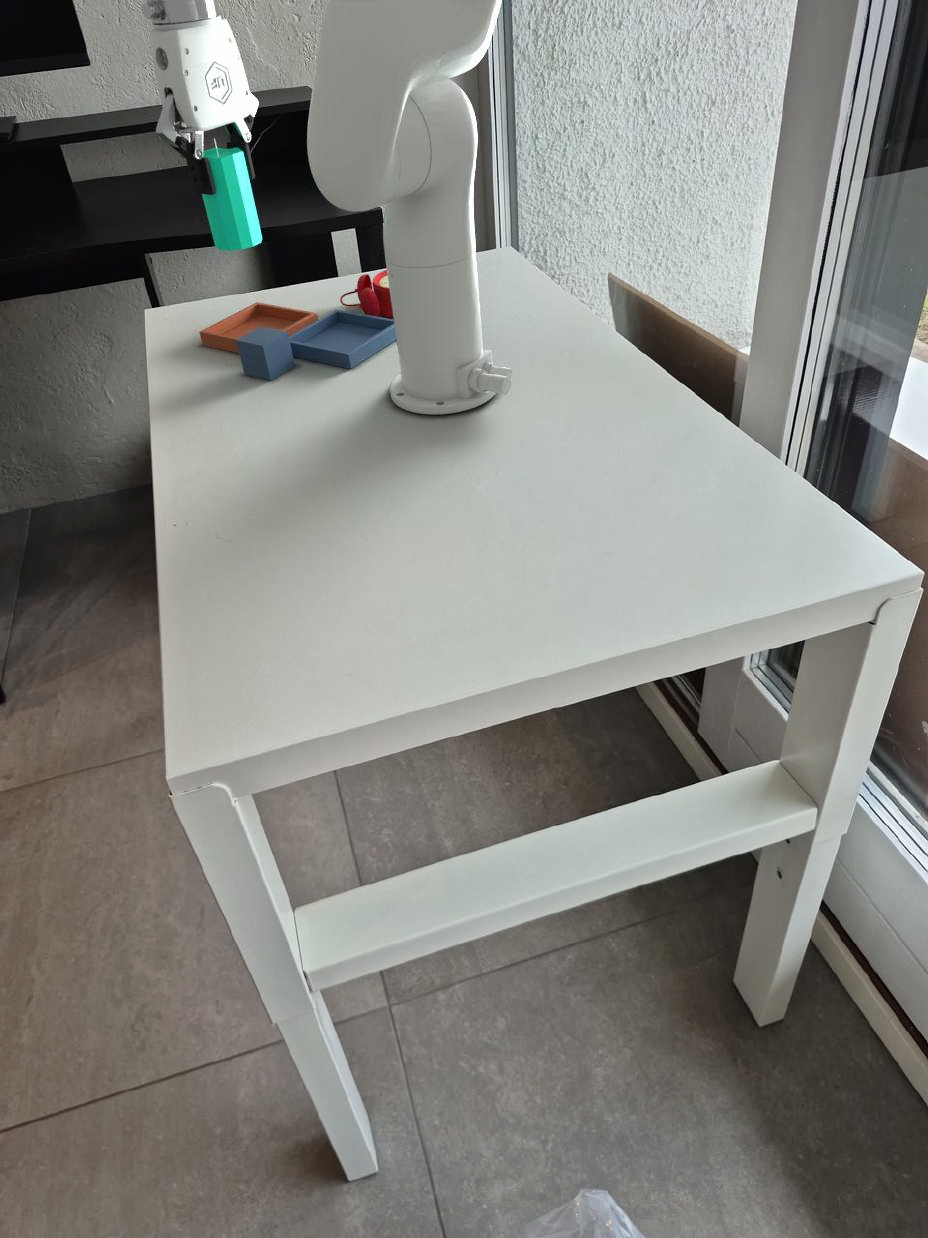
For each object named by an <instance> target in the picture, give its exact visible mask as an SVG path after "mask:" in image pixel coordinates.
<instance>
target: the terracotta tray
mask: <svg viewBox="0 0 928 1238" xmlns="http://www.w3.org/2000/svg"><path fill="white" fill-rule="evenodd" d="M317 320H319V319H318V314H317V312H313V311H309V310H303V309H296V308H292V307H286V306H279V305H274V304H269V303H263V302H255V303H252V304H250V305H249V306H246V307H245V308H242V309H240V310H239V311H237V312H235V313H233V314H231V315H229V316H227V317H225V318H223V319H221V320H219V321H218V322H215V323H214V324H212V325H209V326H208V327H206V328H204V329H202V330H200V331H199V332H198V333H199V336H200V340H201V343H202V346H203V347H209V348H214V349H218V350H223V351H227V352H232V353H236V354H239V350H238V346H237V342H236V340H237V339H239V338H241V337H243V336H245V335H247V334H248V333H250V332H252V331H254V330H256V329H258V328H259V327H265V328H270V329H275V330H281V331H286V332H288V337H289V336H290V335H292V334H294V333H296V332H298V331H299V330H301V329H303V328H305V327H306V326H308V325H310V324H312V323H313V322H315V321H317Z"/></svg>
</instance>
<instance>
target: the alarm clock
mask: <svg viewBox="0 0 928 1238" xmlns="http://www.w3.org/2000/svg"><path fill="white" fill-rule="evenodd" d="M355 293H357V298H358V301H359V303H353V304H348V303H344V302H343V298H344V297H346V296H349V295H352V294H355ZM339 301H340V303H341V305H342V306H345V307H352V308H353V307H359V309H361V311H362V314H365V315H371V316H377V317H383V318H388V319H394V318H393V311H392V303H391V296H390V289H389V282H388V275H387V269H385V270H383V271H381V272H379V273H377V274H375V276H374V277H373V278H372V279H371V276H370V275H369V274H368V273H364V274H362V275H360V276H359V278H358V280H357V284H356V288H354V290H353V291H349V292H347V293H343V294H342V295H341V296H340V298H339Z"/></svg>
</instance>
